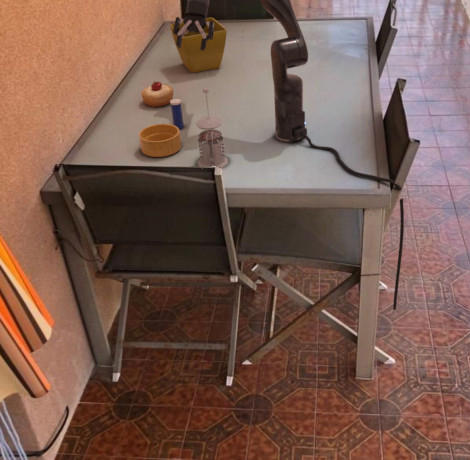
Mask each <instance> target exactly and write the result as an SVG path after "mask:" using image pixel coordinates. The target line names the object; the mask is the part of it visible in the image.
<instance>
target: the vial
mask: <svg viewBox="0 0 470 460" xmlns="http://www.w3.org/2000/svg"><path fill="white" fill-rule="evenodd" d="M169 104H170V108H171V109H170V110H171V115H172V123H173V124H172V125H175V126H176V127H178V128H179V130H182V129H184V117H183V111H182V100H181V99H180V98H172V100H171V101H170V103H169Z"/></svg>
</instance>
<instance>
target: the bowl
mask: <svg viewBox="0 0 470 460" xmlns="http://www.w3.org/2000/svg"><path fill="white" fill-rule="evenodd" d="M180 130H181V129H179V128H178V127H176V126H175V125H174V124H170V123H156V124H152V125H149V126H146V127H144V128H142V129H141V130H140V131H139V133H138V139H139V144H140V145H139V146H140V151H141V153H142V154H144V155H145V156H148V157H154V158H160V157H161V158H162V157H167V156H171V155H174V154H176V153H177V152H178V151H180V149H181V148H182V138H181V131H180Z"/></svg>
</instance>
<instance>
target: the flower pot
mask: <svg viewBox="0 0 470 460" xmlns="http://www.w3.org/2000/svg"><path fill="white" fill-rule="evenodd" d="M206 21H207V22H210V21H213V23H214V33H213V39H212V40H211V39H210V40H207V44H206V49H204V51H201V49H200V48H201V42H202V39H203V37H202V35H201V33H200V32H199V33H195V32H188V33H187V34H185V35H184V36H183V37H182V44H181V48H178V46H177V45H176V42H177V36H176V35H175V34H174V33H173V29H174V24H175V22H174V23H170V24H169V27H170V31H171V34H172V38H173V41H174V45H175V47H176V50H177V53H178V56H179V58H180V60H181V61H182V64H183V65H184V66H185V67H186V68H187V70H188V71H189V72H190V73H191V74H195V73H199V72H204V71H209V70H215V69H219V68H220V67H221V64H222V61H223V57H224V54H225V48H226V40H227V32H228V31H227V30H228V29H227V28H226V27H224V26H223V25H222V23H220V22H219V21H217V19H215V17H214V18H213V17H207V18H206ZM184 25H185V24H184V22H183V23H182V24H181V25H180V28H179V31H180V30H181V28H182V27H183V26H184ZM203 30H204V32H205V34H206V35H208V32H209V28H208V25H206V26H205V27H204V28H203Z"/></svg>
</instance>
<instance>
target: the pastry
mask: <svg viewBox="0 0 470 460" xmlns="http://www.w3.org/2000/svg"><path fill="white" fill-rule="evenodd" d="M140 93H141V94H140V95H141V98H142V100H143V102H144V104H145V105H147V106H148V107H152V108H160V107H164V106H167V105H169V104H170V101H171V100H172V99H174V89H173V87H172V86H171V85H169V84H167V83H164V84H163V83H162V82H160V81H153V82H152V84H151V85H149V86H148V87H145V88H144V89H142V91H141V92H140Z"/></svg>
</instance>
